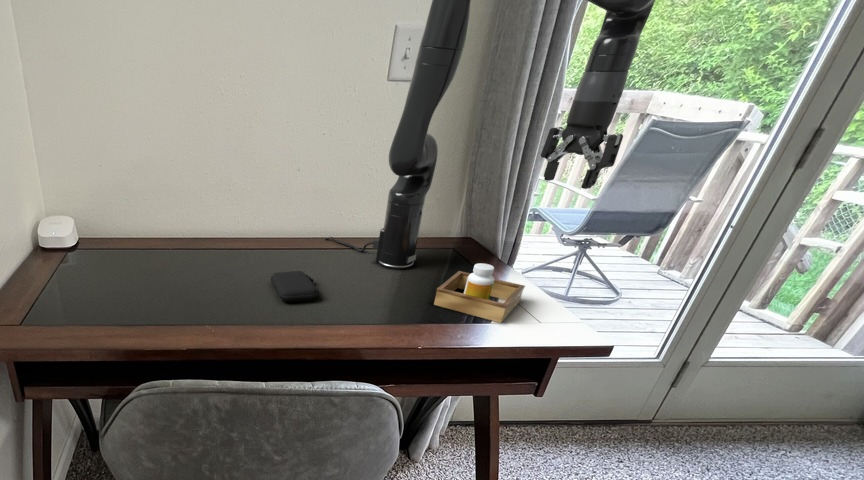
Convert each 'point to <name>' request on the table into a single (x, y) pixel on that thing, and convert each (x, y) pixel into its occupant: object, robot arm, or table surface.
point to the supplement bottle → (480, 281)
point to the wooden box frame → (479, 305)
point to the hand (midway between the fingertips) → (566, 184)
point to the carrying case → (294, 286)
